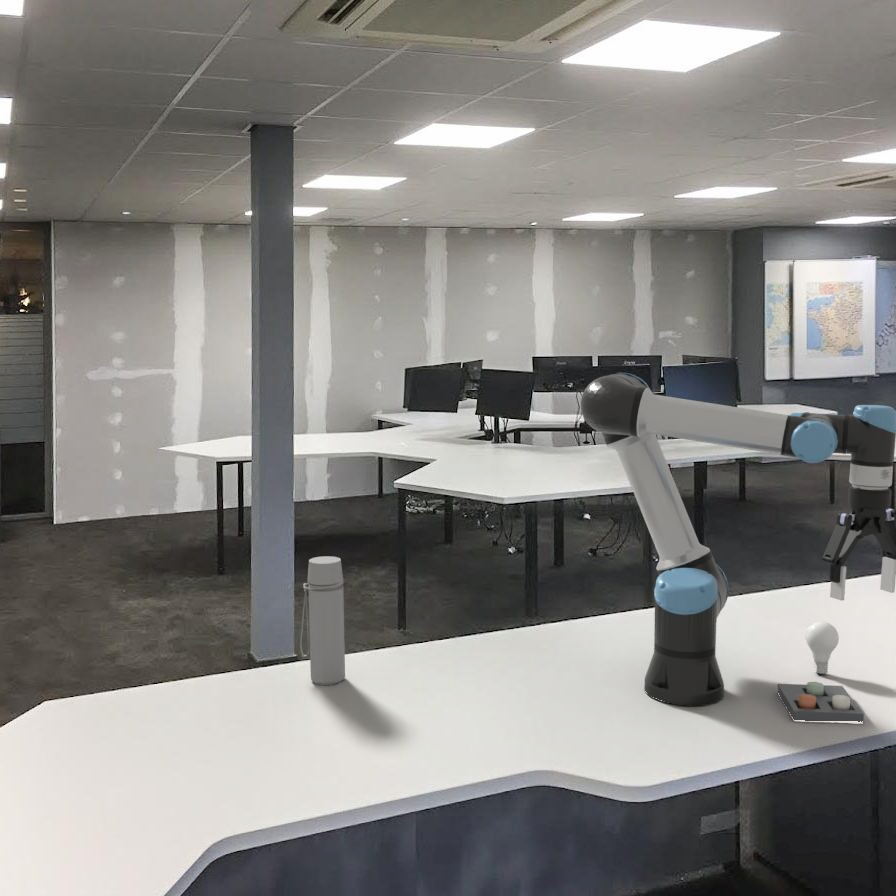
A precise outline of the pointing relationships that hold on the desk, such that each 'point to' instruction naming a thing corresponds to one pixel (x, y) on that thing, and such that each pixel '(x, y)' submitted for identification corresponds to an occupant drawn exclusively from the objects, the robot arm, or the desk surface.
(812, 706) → the rust button
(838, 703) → the cream button
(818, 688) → the sage button
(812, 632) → the lightbulb
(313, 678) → the water bottle
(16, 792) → the desk surface
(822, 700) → the panel
